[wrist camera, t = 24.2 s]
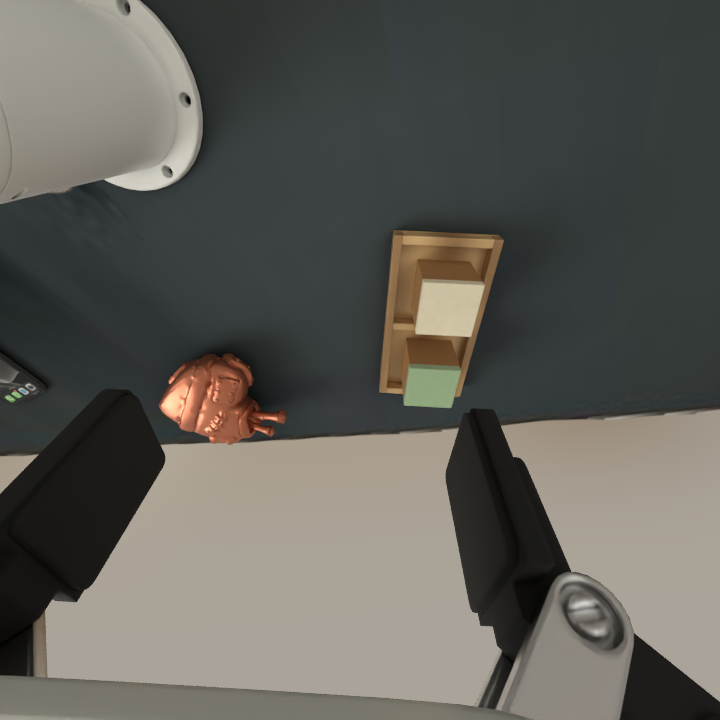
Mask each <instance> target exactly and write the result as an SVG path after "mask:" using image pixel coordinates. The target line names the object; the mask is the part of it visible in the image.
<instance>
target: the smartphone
mask: <svg viewBox="0 0 720 720" xmlns="http://www.w3.org/2000/svg"><path fill="white" fill-rule="evenodd" d="M45 390H46V386H45V384H43V383H42V382H41V381H39V380H38V379H37V378H35V377H34V376H33V375H31V374H30V373H28V372H27V371H26V370H24V369H23V368H22V367H20V366H19V365H17V364H16V363H15V362H13V361H12V360H10V359H9V358H8V357H6V356H5V355H4V354H2V353H1V352H0V399H1V400H3V401H4V402H6V403H7V404H9V405H12V406H19V405H21V404H23V403H25V402H26V401H28V400H30V399H32V398H34V397H36V396H37V395H39V394H41V393H43V392H44V391H45Z"/></svg>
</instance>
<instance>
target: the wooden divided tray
mask: <svg viewBox="0 0 720 720" xmlns="http://www.w3.org/2000/svg"><path fill="white" fill-rule="evenodd" d="M503 242H504V240H503V239H502V238H501V237H500V236H499V235H487V234H466V233H446V232H425V231H404V230H393V239H392V250H391V261H390V272H389V283H388V294H387V305H386V316H385V327H384V338H383V349H382V360H381V371H380V382H379V392H380V393H398V394H403V389H402V378H401V370H402V363H403V356H404V348H405V341H406V338H416V339H435V340H451V341H452V344H453V347H454V350H455V353H456V356H457V359H458V362H459V365H460V369H461V374H460V377H459V381H458V385H457V389H456V392H455V396H454V397H460V394H461V391H462V387H463V384H464V380H465V376H466V373H467V369H468V366H469V362H470V359H471V355H472V352H473V348H474V345H475V341H476V338H477V334H478V330H479V327H480V323H481V320H482V316H483V313H484V309H485V306H486V302H487V299H488V295H489V292H490V288H491V285H492V281H493V277H494V274H495V270H496V267H497V263H498V260H499V256H500V253H501V249H502V246H503ZM417 259H428V260H449V261H469V262H471V264H472V265H473V267H474V268H475V270H476V272H477V273H478V275H479V276H480V278H481V280H482V281H483V283H484V285H485V287H484V291H483V295H482V299H481V302H480V306H479V310H478V313H477V317H476V321H475V324H474V328H473V332H472V335H471V337H462V336H442V335H423V334H416V332H415V327H414V321H413V315H412V310H411V301H412V294H413V287H414V280H415V272H416V265H417Z"/></svg>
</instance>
